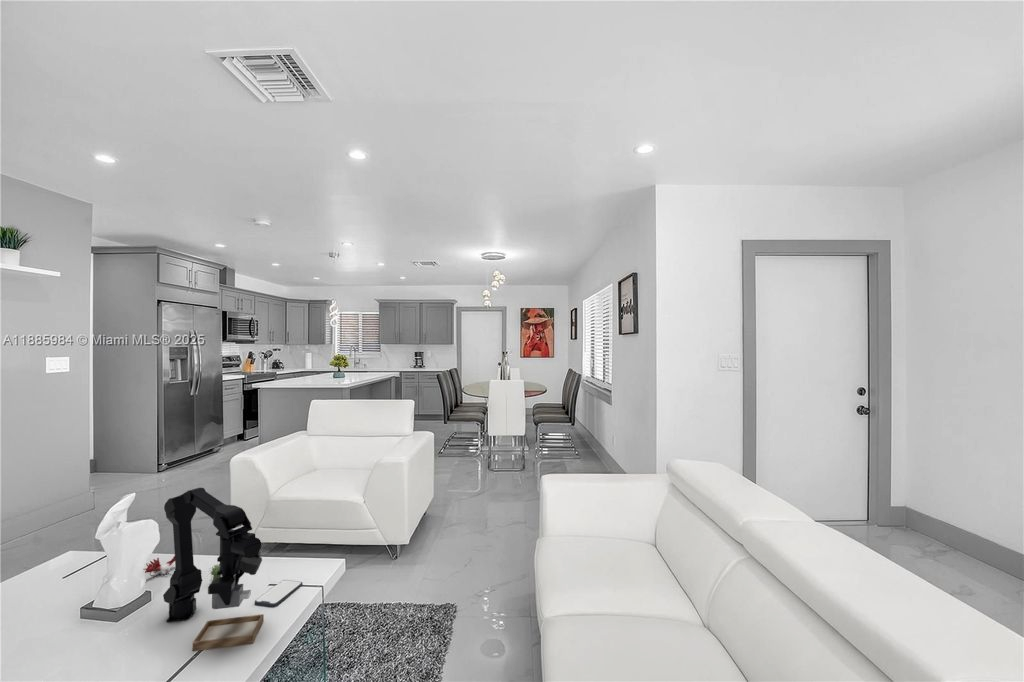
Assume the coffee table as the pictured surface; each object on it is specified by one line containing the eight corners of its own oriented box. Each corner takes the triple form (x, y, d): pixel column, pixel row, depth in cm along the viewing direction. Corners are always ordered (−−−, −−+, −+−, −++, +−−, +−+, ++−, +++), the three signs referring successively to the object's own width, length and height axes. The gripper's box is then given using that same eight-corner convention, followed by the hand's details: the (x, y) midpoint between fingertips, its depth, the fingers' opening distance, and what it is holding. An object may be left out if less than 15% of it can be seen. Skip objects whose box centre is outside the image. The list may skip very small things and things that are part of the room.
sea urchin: (207, 597, 166) (208, 576, 166) (191, 587, 172) (191, 567, 172) (242, 582, 176) (242, 562, 176) (225, 573, 182) (225, 554, 182)
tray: (192, 651, 137) (192, 643, 137) (207, 628, 148) (207, 620, 148) (253, 643, 141) (253, 635, 141) (263, 621, 152) (263, 614, 152)
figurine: (171, 562, 191) (171, 546, 191) (191, 567, 187) (191, 550, 187) (130, 579, 177) (130, 562, 177) (150, 585, 173) (150, 567, 173)
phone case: (283, 583, 177) (252, 606, 161) (283, 579, 177) (252, 601, 161) (304, 586, 176) (275, 609, 160) (304, 581, 176) (275, 604, 160)
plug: (209, 609, 142) (209, 593, 142) (214, 602, 146) (214, 586, 146) (247, 605, 144) (247, 589, 144) (251, 598, 148) (251, 582, 148)
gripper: (250, 562, 138) (249, 615, 138) (267, 536, 156) (266, 582, 156) (207, 566, 135) (206, 620, 135) (230, 539, 153) (229, 586, 153)
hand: (230, 601), depth 145 cm, fingers closed on plug, 4 cm apart
